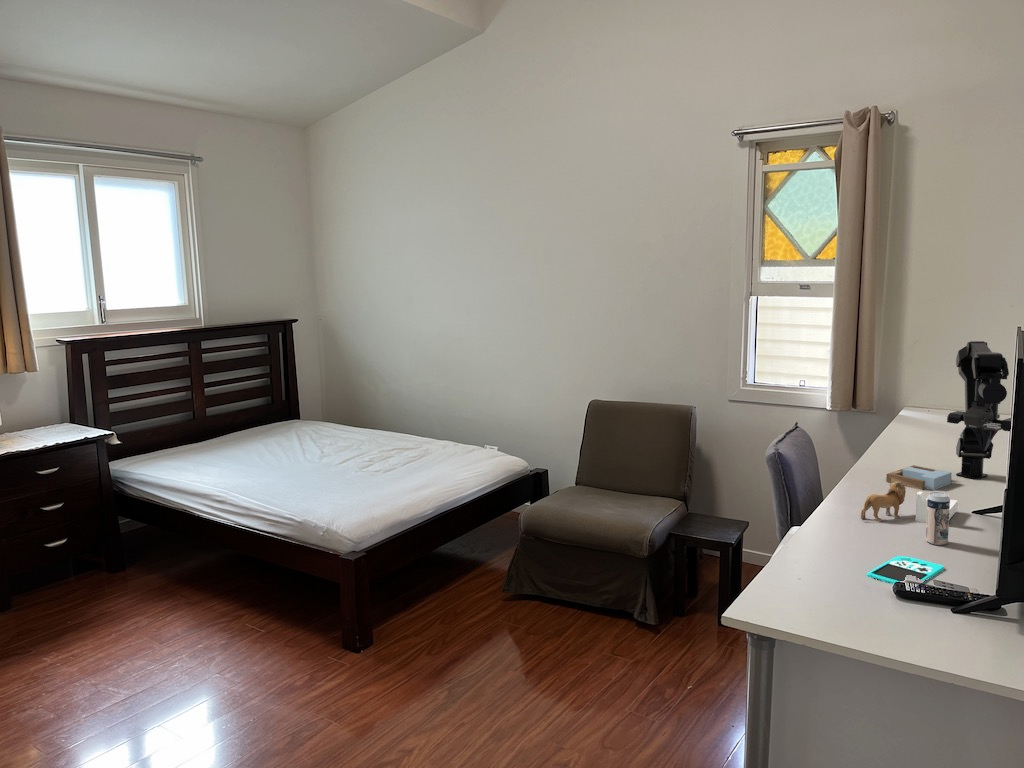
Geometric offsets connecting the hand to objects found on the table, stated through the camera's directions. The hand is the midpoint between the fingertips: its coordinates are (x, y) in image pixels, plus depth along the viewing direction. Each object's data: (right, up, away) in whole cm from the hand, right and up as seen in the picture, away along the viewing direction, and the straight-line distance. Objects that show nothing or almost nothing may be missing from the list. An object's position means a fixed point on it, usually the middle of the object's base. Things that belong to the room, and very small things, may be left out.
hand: (983, 450), depth 216 cm
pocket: (-11, -11, +13) cm, 20 cm away
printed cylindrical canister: (-33, -19, -35) cm, 52 cm away
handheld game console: (-49, -23, -51) cm, 75 cm away
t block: (-11, -11, +12) cm, 19 cm away
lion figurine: (-37, -17, -16) cm, 44 cm away
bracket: (-23, -16, -17) cm, 33 cm away
